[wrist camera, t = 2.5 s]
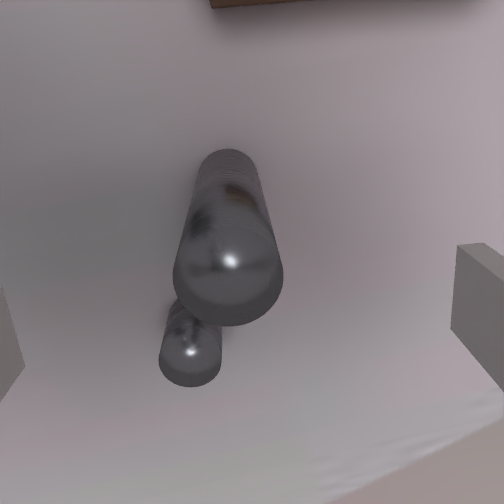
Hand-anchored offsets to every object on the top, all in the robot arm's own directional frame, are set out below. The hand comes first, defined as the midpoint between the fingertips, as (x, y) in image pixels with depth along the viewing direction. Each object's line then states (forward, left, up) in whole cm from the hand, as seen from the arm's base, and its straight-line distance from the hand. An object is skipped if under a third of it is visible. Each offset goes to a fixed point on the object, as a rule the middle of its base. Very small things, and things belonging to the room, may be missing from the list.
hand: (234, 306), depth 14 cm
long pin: (0, 0, -15) cm, 15 cm away
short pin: (+9, -3, -15) cm, 18 cm away
